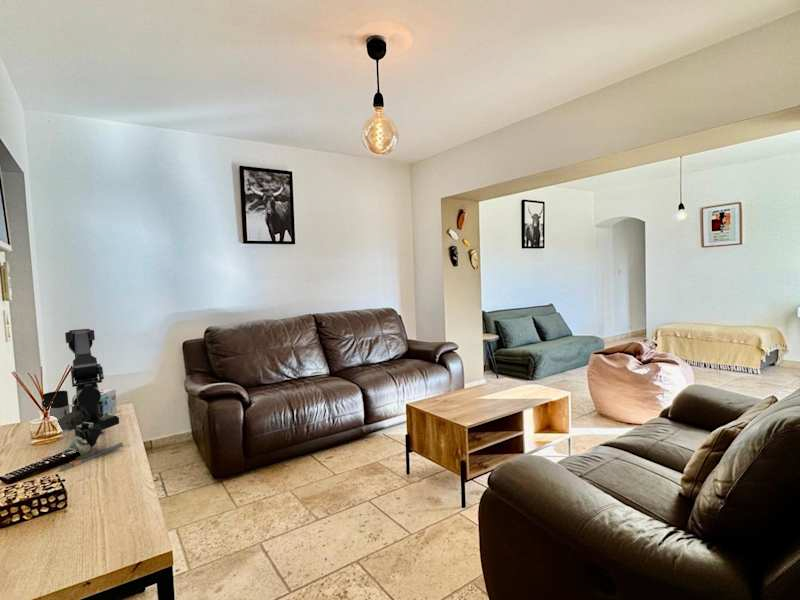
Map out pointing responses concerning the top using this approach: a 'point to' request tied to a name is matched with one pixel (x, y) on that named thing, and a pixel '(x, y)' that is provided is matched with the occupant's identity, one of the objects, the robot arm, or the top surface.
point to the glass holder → (58, 404)
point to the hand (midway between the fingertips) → (91, 446)
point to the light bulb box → (108, 401)
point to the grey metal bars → (78, 462)
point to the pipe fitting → (76, 446)
